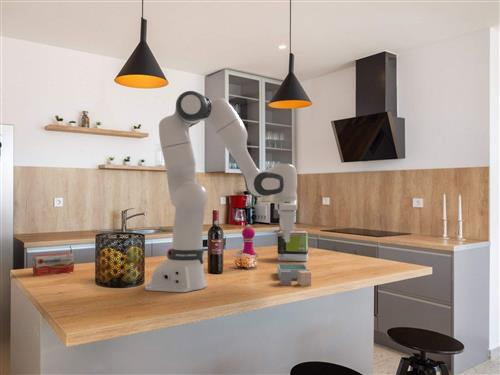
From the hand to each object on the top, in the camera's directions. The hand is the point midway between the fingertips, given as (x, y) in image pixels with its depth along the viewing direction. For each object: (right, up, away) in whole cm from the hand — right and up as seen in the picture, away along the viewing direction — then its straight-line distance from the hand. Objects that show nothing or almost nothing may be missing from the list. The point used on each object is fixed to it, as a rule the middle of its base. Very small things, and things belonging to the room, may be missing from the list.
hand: (286, 240), depth 158 cm
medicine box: (-99, -17, +18) cm, 102 cm away
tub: (+4, -17, +13) cm, 22 cm away
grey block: (0, -17, 0) cm, 17 cm away
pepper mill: (-15, -17, +34) cm, 40 cm away
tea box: (+8, -17, +55) cm, 59 cm away
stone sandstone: (+7, -17, -2) cm, 18 cm away
